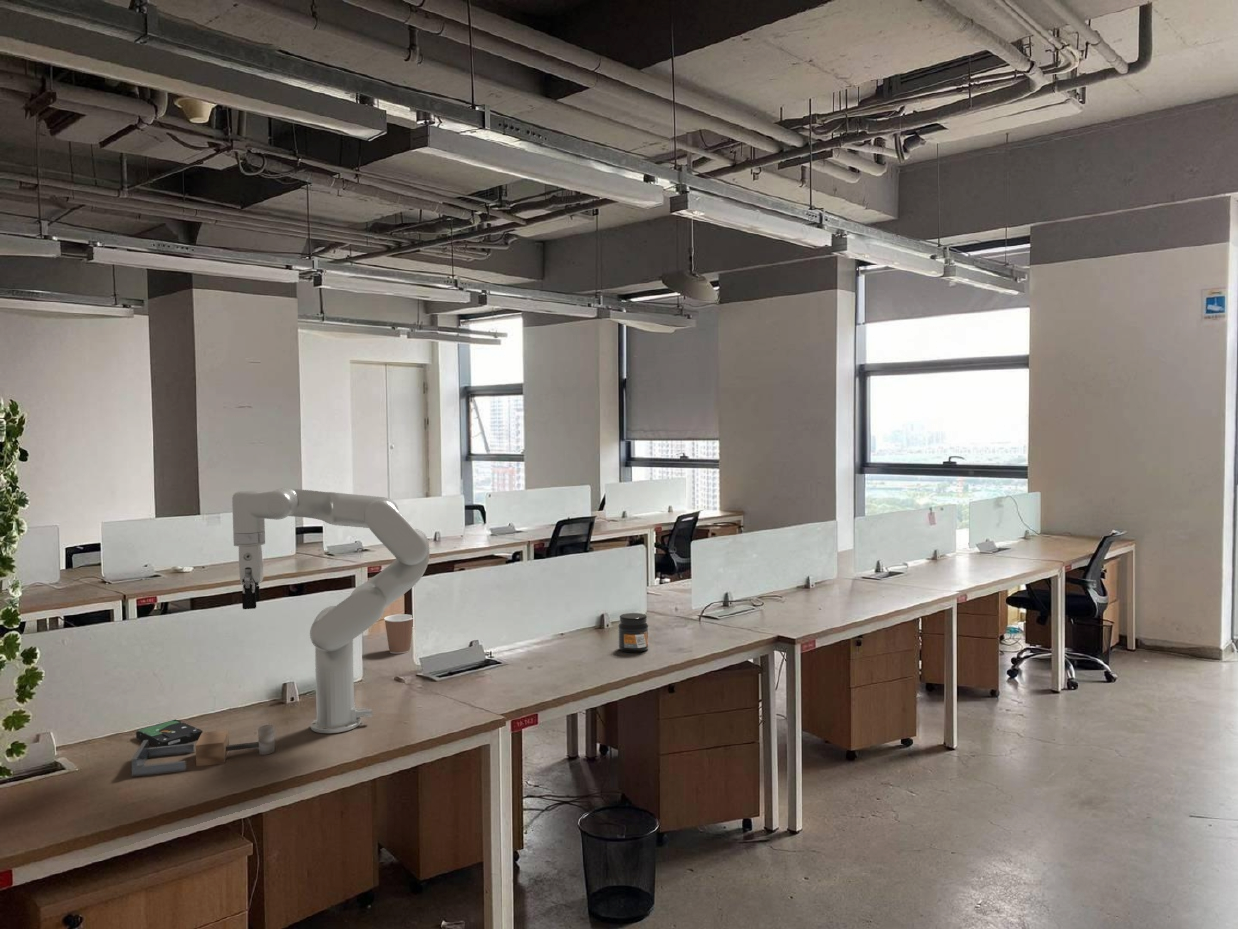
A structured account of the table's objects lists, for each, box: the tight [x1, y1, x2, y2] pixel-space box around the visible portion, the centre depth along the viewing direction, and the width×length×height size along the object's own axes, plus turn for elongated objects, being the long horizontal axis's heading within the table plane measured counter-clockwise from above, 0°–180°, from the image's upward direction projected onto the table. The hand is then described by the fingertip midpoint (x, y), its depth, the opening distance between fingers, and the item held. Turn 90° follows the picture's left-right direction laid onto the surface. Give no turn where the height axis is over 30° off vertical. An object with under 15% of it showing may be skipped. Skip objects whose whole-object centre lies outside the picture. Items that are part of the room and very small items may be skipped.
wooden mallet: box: [195, 724, 276, 767], centre depth 212 cm, size 17×9×6 cm, turn 107°
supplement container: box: [617, 612, 649, 654], centre depth 308 cm, size 10×10×12 cm
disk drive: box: [135, 719, 204, 747], centre depth 225 cm, size 10×3×15 cm
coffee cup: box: [383, 613, 414, 655], centre depth 309 cm, size 10×10×12 cm
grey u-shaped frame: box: [131, 740, 195, 778], centre depth 208 cm, size 11×13×4 cm
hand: (251, 605), depth 227 cm, fingers open, 9 cm apart
